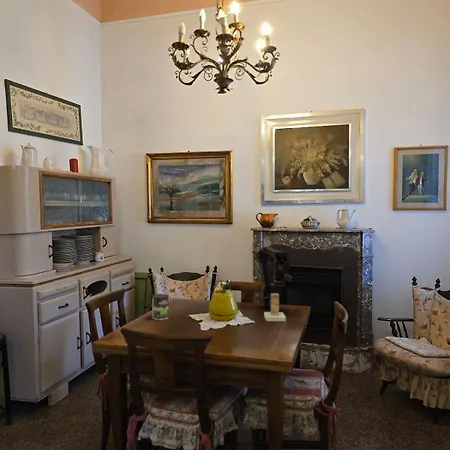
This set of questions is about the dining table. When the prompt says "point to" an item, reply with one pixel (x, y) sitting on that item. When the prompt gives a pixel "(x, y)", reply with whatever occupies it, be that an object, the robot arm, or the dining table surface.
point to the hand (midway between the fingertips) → (278, 293)
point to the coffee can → (160, 306)
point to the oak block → (274, 304)
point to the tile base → (274, 317)
